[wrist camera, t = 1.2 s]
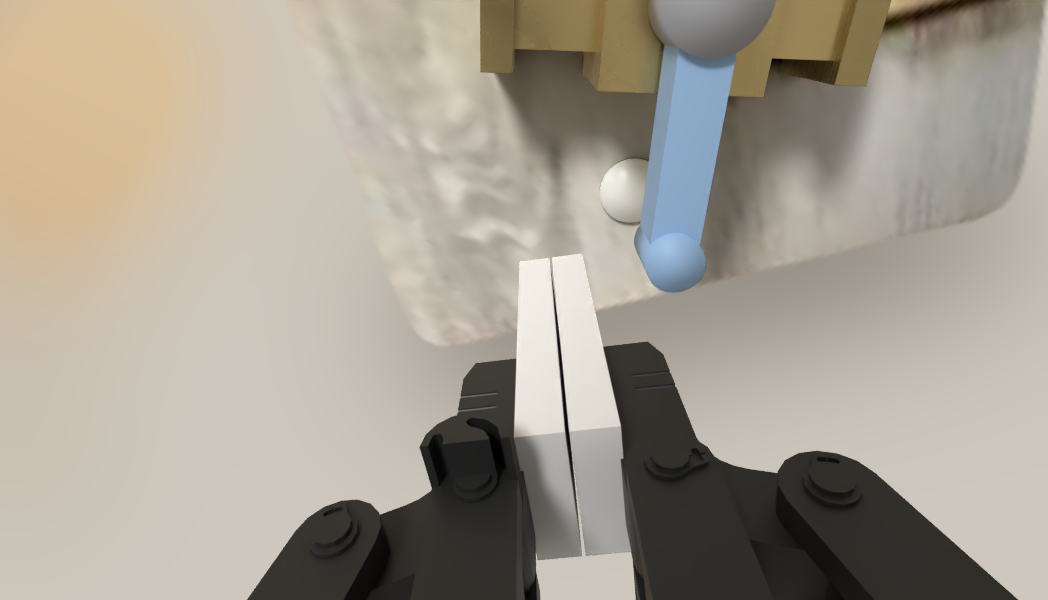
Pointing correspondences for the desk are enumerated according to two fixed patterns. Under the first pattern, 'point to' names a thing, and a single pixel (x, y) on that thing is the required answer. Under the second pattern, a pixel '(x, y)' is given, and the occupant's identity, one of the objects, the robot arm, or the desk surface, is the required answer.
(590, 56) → the valve body
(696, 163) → the lever
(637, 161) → the white domed disc
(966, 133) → the desk surface
